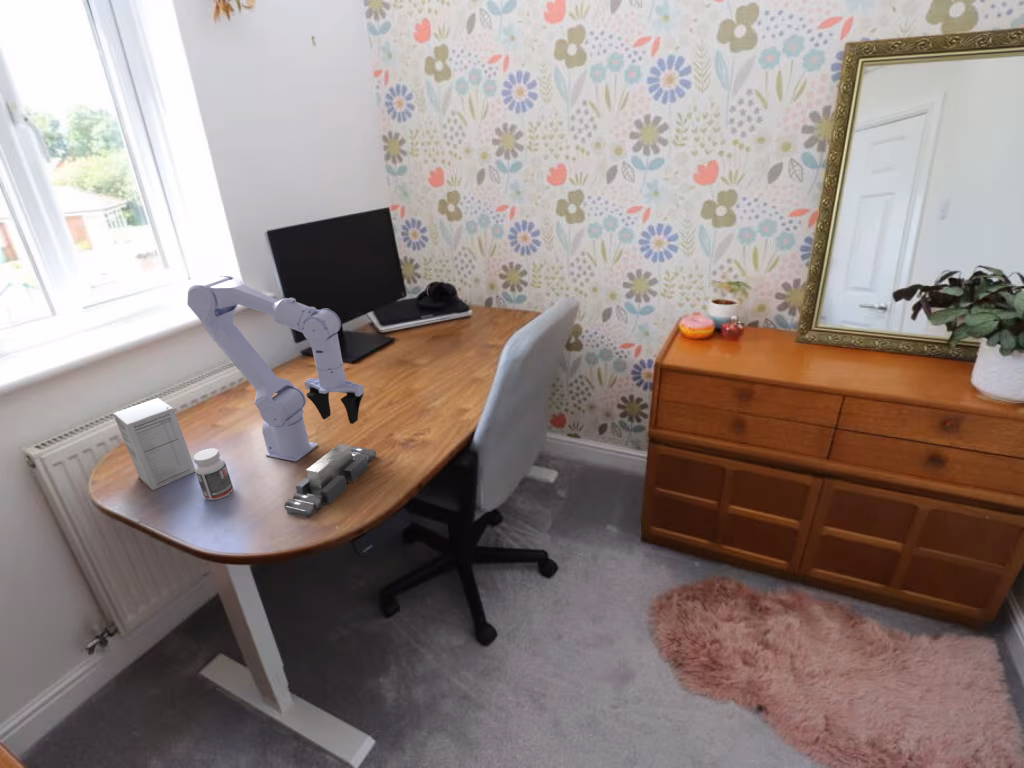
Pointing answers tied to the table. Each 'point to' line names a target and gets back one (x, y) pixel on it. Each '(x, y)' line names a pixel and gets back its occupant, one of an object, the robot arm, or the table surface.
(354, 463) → the chain end
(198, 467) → the pill bottle
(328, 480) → the pale grey rectangular prism
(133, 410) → the supplement box
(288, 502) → the chain end
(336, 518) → the table surface
